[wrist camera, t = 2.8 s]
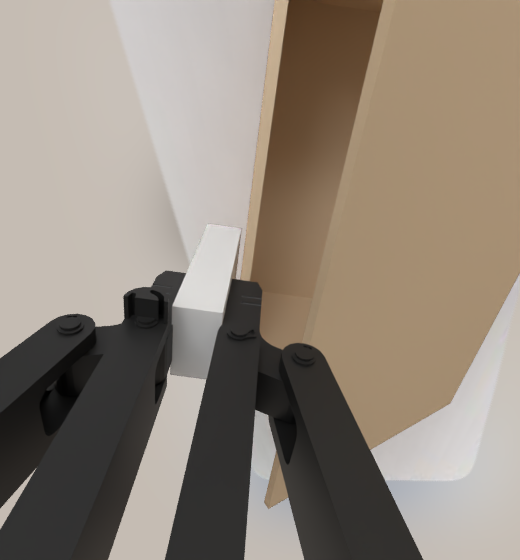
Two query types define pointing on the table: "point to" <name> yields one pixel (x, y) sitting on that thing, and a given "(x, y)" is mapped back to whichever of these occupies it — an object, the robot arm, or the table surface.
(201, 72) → the table surface
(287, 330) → the carton
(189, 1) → the table surface
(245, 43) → the table surface
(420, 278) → the carton lid
